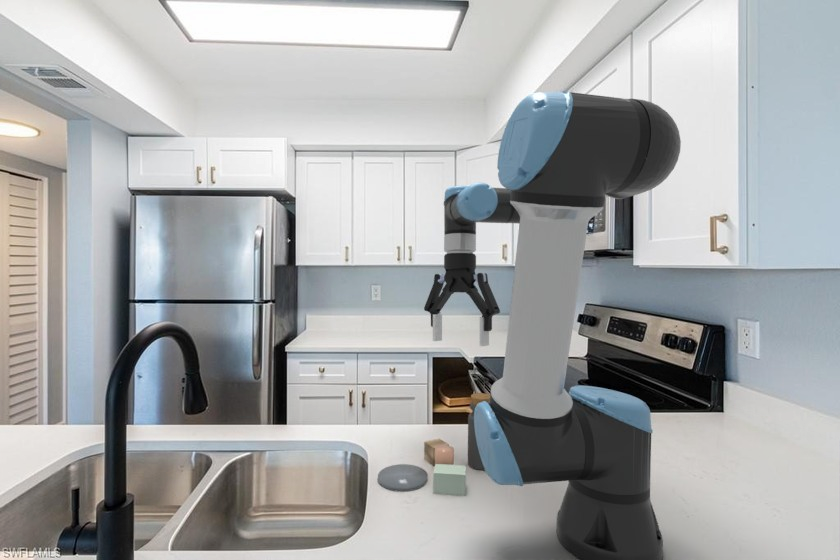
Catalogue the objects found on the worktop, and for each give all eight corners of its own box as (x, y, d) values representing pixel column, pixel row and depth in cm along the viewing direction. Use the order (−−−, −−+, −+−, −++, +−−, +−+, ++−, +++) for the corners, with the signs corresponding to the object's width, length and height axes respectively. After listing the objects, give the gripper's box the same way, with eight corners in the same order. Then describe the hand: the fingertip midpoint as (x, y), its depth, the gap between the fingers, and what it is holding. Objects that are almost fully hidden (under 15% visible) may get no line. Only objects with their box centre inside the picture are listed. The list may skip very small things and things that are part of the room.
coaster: (433, 488, 84) (433, 484, 84) (381, 493, 81) (381, 489, 81) (421, 466, 93) (421, 462, 93) (374, 470, 91) (374, 466, 91)
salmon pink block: (456, 476, 89) (456, 451, 89) (437, 477, 88) (437, 453, 88) (450, 467, 93) (450, 444, 93) (432, 469, 92) (432, 445, 92)
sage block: (465, 496, 81) (465, 474, 81) (433, 494, 82) (433, 472, 82) (465, 486, 85) (465, 465, 85) (435, 484, 86) (435, 463, 86)
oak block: (448, 462, 95) (449, 444, 95) (433, 466, 93) (433, 447, 93) (439, 456, 99) (439, 438, 99) (424, 459, 97) (424, 441, 97)
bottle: (493, 459, 97) (494, 392, 97) (495, 471, 91) (496, 400, 91) (467, 458, 98) (468, 391, 97) (467, 469, 92) (468, 399, 92)
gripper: (515, 251, 97) (515, 346, 97) (429, 256, 114) (429, 337, 113) (497, 249, 91) (497, 349, 91) (410, 254, 108) (410, 340, 107)
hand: (459, 343), depth 102 cm, fingers open, 13 cm apart
